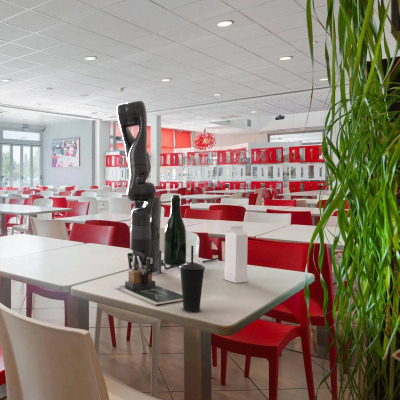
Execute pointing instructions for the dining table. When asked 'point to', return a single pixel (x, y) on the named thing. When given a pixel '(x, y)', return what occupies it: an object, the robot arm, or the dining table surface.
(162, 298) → the chalkboard
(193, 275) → the drinking cup
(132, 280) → the eraser
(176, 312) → the dining table surface
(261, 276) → the dining table surface
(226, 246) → the milk
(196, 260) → the container set
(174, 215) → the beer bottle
